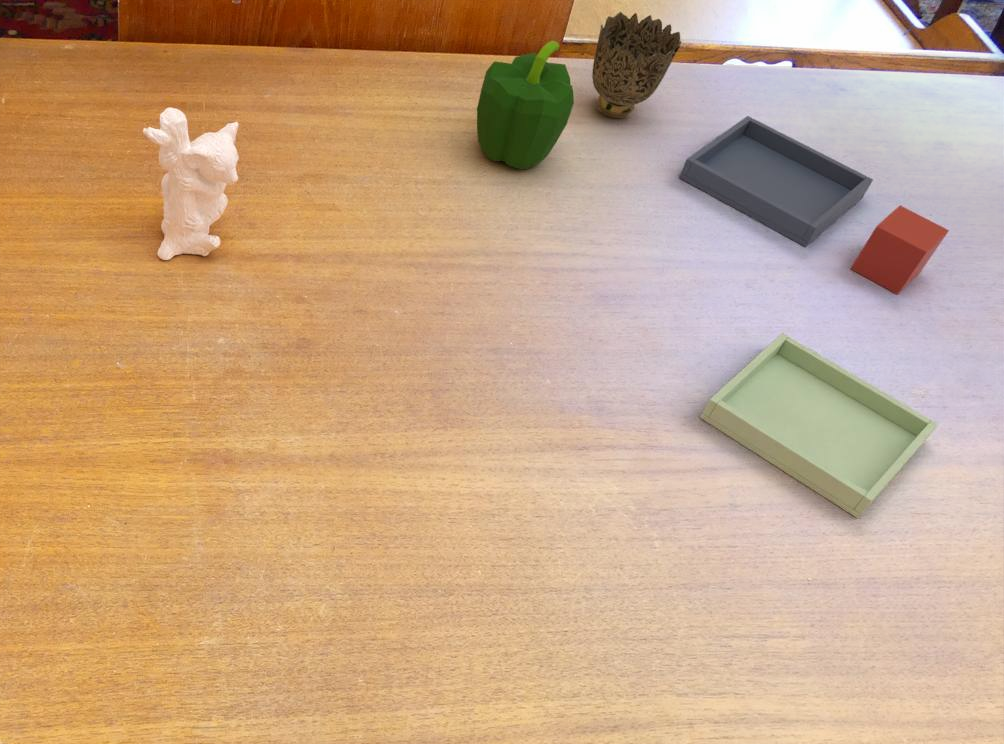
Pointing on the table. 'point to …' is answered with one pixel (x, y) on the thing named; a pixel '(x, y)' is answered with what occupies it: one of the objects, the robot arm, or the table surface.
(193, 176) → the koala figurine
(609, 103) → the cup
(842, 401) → the tray
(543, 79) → the bell pepper
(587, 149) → the table surface
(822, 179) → the block tray
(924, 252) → the block
